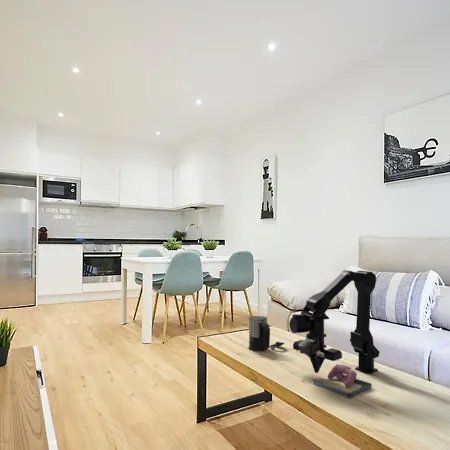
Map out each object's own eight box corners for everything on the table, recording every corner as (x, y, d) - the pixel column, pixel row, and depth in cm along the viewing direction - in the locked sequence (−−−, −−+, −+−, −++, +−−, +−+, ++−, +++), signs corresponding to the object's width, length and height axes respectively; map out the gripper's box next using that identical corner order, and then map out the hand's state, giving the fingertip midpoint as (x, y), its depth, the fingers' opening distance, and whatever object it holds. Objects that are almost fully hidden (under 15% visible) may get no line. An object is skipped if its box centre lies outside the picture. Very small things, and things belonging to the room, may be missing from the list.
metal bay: (335, 375, 134) (335, 371, 134) (371, 388, 122) (371, 383, 123) (313, 384, 125) (313, 380, 125) (350, 398, 114) (350, 393, 114)
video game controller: (354, 390, 124) (360, 371, 126) (346, 387, 122) (352, 367, 124) (333, 381, 132) (339, 363, 134) (325, 377, 131) (331, 359, 132)
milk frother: (244, 348, 168) (244, 317, 169) (266, 342, 179) (266, 313, 179) (266, 355, 157) (266, 322, 158) (288, 348, 168) (288, 317, 169)
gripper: (283, 329, 135) (283, 370, 135) (324, 340, 121) (325, 385, 120) (301, 325, 142) (301, 364, 142) (342, 335, 128) (343, 378, 127)
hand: (316, 372), depth 132 cm, fingers closed
